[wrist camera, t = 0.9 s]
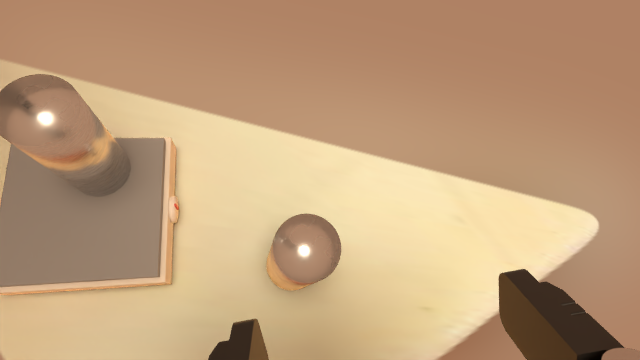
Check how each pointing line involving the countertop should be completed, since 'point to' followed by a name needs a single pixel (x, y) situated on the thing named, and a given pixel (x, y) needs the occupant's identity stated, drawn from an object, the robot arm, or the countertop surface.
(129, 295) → the countertop surface
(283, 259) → the cylinder
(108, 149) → the cylinder
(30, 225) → the scale
